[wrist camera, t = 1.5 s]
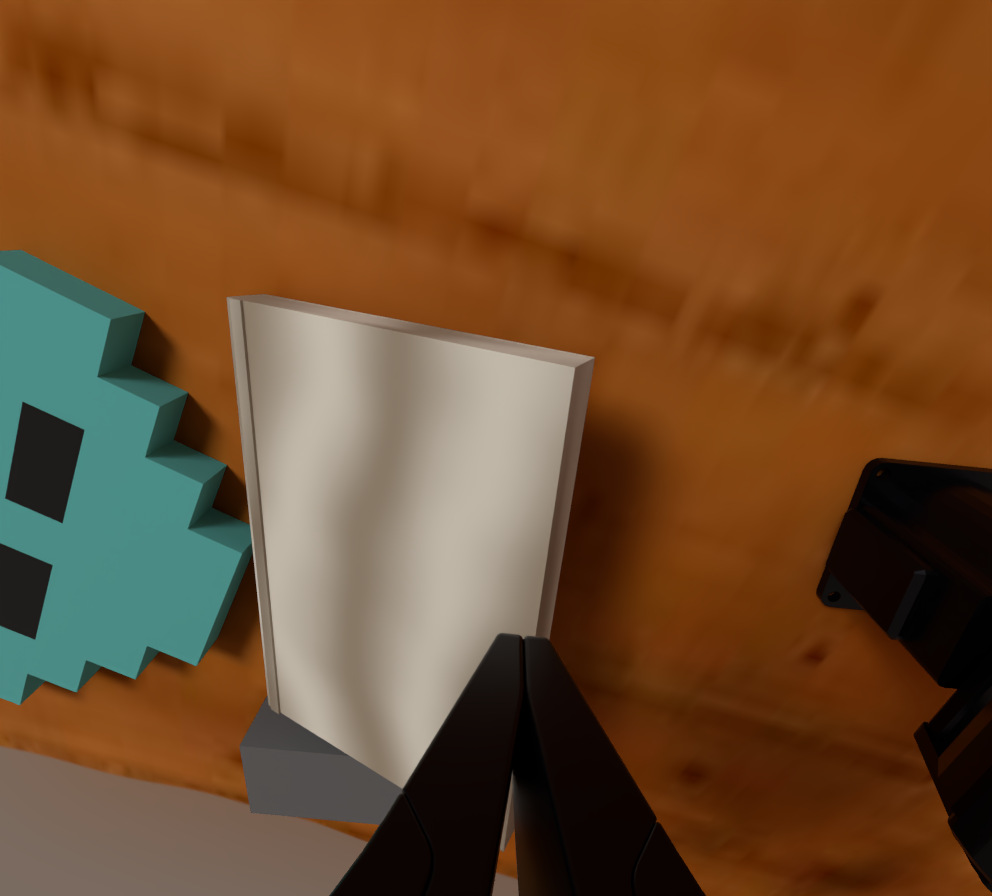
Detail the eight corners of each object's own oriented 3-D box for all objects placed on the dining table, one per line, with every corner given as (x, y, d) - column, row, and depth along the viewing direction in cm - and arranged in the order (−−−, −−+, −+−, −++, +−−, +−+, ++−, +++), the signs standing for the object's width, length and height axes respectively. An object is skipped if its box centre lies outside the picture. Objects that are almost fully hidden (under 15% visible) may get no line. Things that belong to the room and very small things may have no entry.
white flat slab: (595, 357, 14) (573, 368, 12) (521, 815, 21) (502, 854, 19) (264, 293, 18) (224, 297, 17) (294, 682, 25) (266, 706, 24)
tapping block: (429, 705, 26) (418, 762, 24) (428, 768, 28) (417, 828, 25) (269, 691, 26) (239, 746, 24) (277, 755, 28) (250, 812, 25)
